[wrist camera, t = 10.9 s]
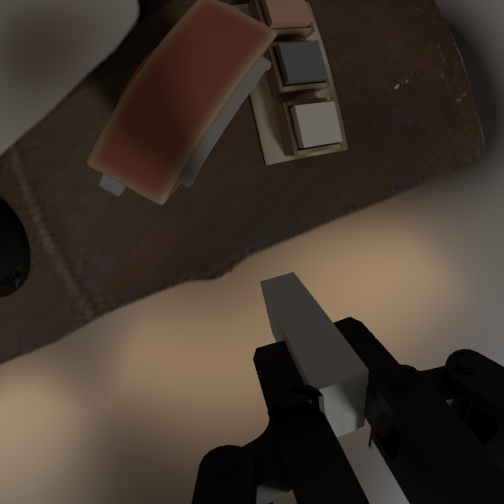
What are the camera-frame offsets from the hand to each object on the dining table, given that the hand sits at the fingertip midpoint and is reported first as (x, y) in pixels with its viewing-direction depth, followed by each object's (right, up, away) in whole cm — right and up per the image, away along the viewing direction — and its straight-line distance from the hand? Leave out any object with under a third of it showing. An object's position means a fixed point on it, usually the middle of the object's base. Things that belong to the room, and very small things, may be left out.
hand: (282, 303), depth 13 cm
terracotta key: (+2, +33, +15) cm, 36 cm away
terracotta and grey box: (-9, +18, +21) cm, 29 cm away
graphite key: (+4, +25, +18) cm, 32 cm away
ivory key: (+6, +18, +21) cm, 28 cm away
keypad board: (+4, +26, +20) cm, 33 cm away
